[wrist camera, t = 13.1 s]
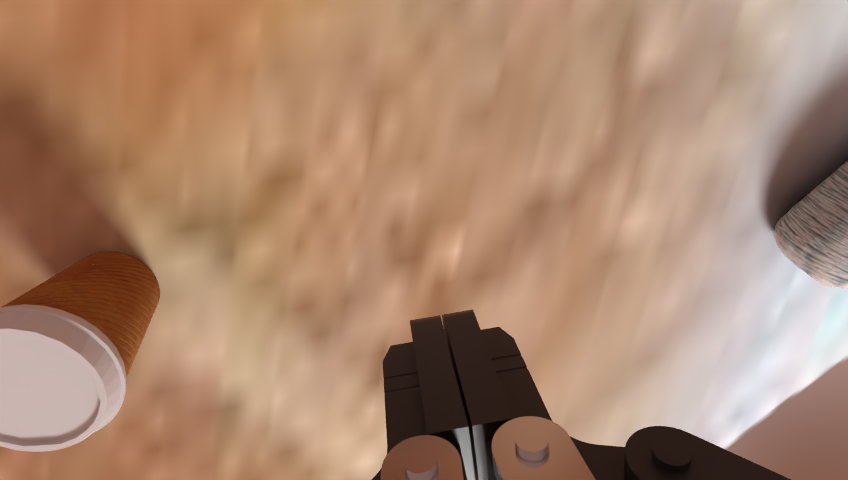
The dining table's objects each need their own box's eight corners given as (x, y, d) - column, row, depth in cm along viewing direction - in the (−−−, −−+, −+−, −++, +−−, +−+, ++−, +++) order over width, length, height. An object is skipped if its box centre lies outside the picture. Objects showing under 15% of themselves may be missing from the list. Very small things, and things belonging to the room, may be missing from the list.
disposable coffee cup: (138, 213, 37) (47, 295, 26) (204, 316, 41) (149, 425, 30) (19, 257, 37) (-121, 358, 26) (96, 355, 41) (2, 478, 30)
